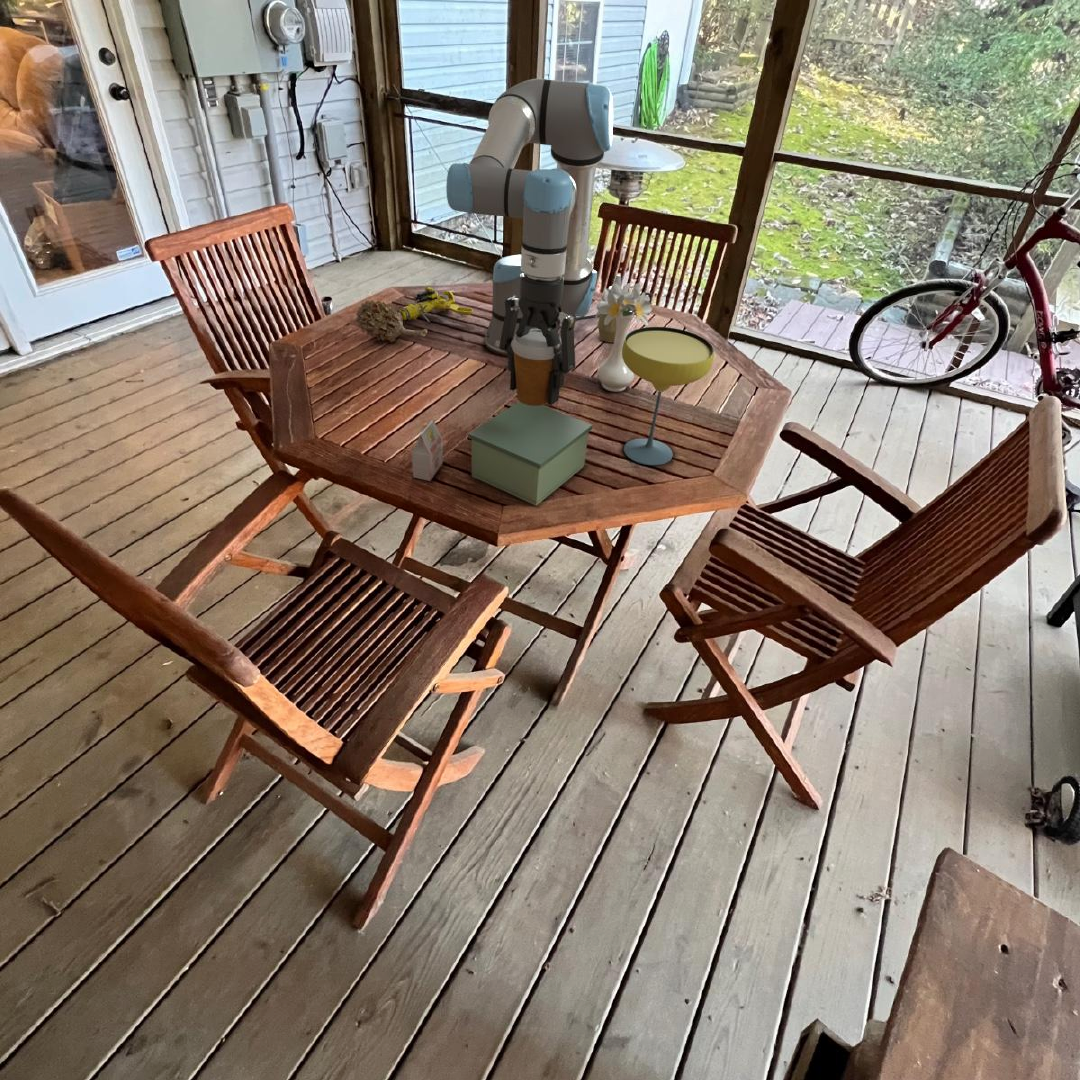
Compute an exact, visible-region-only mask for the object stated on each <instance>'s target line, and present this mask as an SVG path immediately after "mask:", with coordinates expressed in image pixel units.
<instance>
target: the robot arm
mask: <svg viewBox="0 0 1080 1080" xmlns="http://www.w3.org/2000/svg"><path fill="white" fill-rule="evenodd" d="M487 121H488V123H487V124H488V126H487V128H486V130H485V132H484V134H483V136H482V138H481V140H480V142H479V144H478V146H477V148H476V150H475V152H474V154H473V156H472V158H471V160H470V162H469V163H467V162H461V163H460V162H459V163H458V162H455V163H452V164H451V165H450V166H449V168H448V171H447V174H446V187H445V188H446V192H445V193H446V200H447V204H448V207H449V208H450V209H451V210H453V211H455V212H460V213H467V214H469V215H472V214H474V215H486V216H495V217H506V218H513V219H522V239H521V240H522V241H521V254H513V255H507V256H504V257H501V258H500V259H498V260H497V261H496V262H495V263H494V266H493V272H492V273H493V274H492V279H491V282H492V301H491V302H492V305H491V307H492V310H491V318H490V321H489V324H488V327H487V330H486V333H485V336H484V346H485V348H486V349H487V350H488V351H490V352H492V353H493V354H496V355H500V356H502V357H503V356H505V357H507V370H508V372H510V377H509V378H510V379H509V380H510V381H509V390H510V391H511V392H514V391H515V390H517V386H516V375H515V363H514V351H513V349H512V347H511V342H512V340H513V339H514V336H515V334H517V336H518V337H520V338H521V337H523V336H525V335H526V334H528V333H529V331H530V329H539V330H542V334H543V336H544V337H545V338H546V342H547V346H548V347H550V346H552V347H553V350H554V354H555V356H554V358H553V359H552V364H553V368H554V370H553V371H551V372H550V379H549V391H548V403H547V405H549V406H552V405H553V404H555V403H557V402H558V401H560V399H559V398H560V390H561V388H563V387H564V385H565V378H566V377H565V376H566V374H568V373H570V372H572V371H573V370H574V369H576V348H575V347H576V345H575V325H576V322H578V321H583V320H590V319H594V318H595V316H596V314H589V315H588V313H589V312H590V309H591V306H592V302H593V298H594V292H595V289H596V283H597V280H598V279H597V278H598V271H596V270H595V269H593V264H592V261H591V260H590V259H589V258H588V253H589V243H590V233H591V222H592V209H593V200H594V189H595V178H596V166H597V165H598V164H599V163H601V162H602V161H603V159H604V157H605V153H607V152H609V151H611V149H612V145H613V144H612V143H613V128H614V127H613V126H614V105H613V95H612V91H611V89H610V88H609V87H608V86H606V85H602V84H596V83H595V84H594V83H593V82H591V81H589V82H579V81H566V80H558V79H546V78H531V79H527V80H524V81H521V82H519V83H517V84H514V85H513V86H512V87H510V88H508V89H506V90H505V91H504V92H502V93H501V94H500V95H498V97H497V98H496V99H495V101H494V102H493V104H492V106H491V108H490V110H489V113H488V120H487ZM528 144H536V145H542V146H543V145H544V146H550V156H551V159H553V161H555V162H556V168H550V169H549V168H548V169H547V168H541V169H535V170H527V169H519V168H518V169H517V168H515V167H516V164H517V161H518V159H519V157H520V155H521V152H522V150H523V148H524V147H525V146H526V145H528ZM644 293H645V296H648V297H649V298H653V296H652V293H650V292H648V291H647V292H644ZM599 316H600V315H598V316H597V317H596V318H599ZM596 318H595V319H596ZM559 327H560V328H559ZM559 330H560V335H559ZM559 337H560V338H561V342H560V338H559ZM559 343H560V346H559V348H558V349H556V348H555V347H554V346H556V345H558V344H559ZM560 351H561V352H560ZM559 352H560V353H559ZM557 353H559V354H557Z"/></svg>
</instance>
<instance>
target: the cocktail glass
mask: <svg viewBox="0 0 1080 1080" xmlns="http://www.w3.org/2000/svg"><path fill="white" fill-rule="evenodd" d="M622 358H623V361H624V363H625V364H626V366H627V367H628V368H629V369H630V370H631V371H632V372H633V373H634V375H636V376H637V377H639V378H640V379H642V380H645V381H646V382H649V383H650V384H651V385H652V387H653V388H654V389H655V391H656V392H657V396H656V402H655V408H654V412H653V417H652V421H651V427H650V432H649V436H648V438H634V439H631V440H629V441H627V442H626V443H625V444H624V446H623V453H624V454H625V456H626V457H627V458H628V459H630V460H631V461H632V462H634V463H637V464H640V465H644V466H651V467H652V466H653V467H657V466H663V465H666V464H667V463H670V461H672V459H673V456H674V455H673V453H674V452H673V451H672V448H670V447H669V446H668V445H667V444H665V443H664V442H661V441H659V440H656V439H654V434H655V433H654V432H655V428H656V424H657V423H656V422H657V417H658V413H659V412H658V411H659V406H660V402H661V397H662V393H664V392H666V391H668V389H669V388H671V387H676V386H683V385H688V384H692V383H694V382H697V381H699V380H701V379H703V378H704V377H705V376H706V375H707V374H708V373H710V371H711V368H712V366H713V363H714V360H715V349H714V347H713V345H712V344H711V343H710V342H709V341H708V340H707V339H706V338H704V337H703V336H700V335H699V334H696V333H694V332H691V331H688V330H684V329H679V328H674V327H668V326H645V327H640V328H637V329H634V330H631V331H630V332H628V335H627V336H626V337H625V339H624V342H623V346H622Z"/></svg>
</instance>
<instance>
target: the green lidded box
mask: <svg viewBox="0 0 1080 1080" xmlns="http://www.w3.org/2000/svg"><path fill="white" fill-rule="evenodd" d="M593 426H594V425H593V424H592V423H589V422H586V421H583V420H581V419H579V418H576V417H574V416H571V415H568V414H567V413H563V412H560V411H558V410H556V409H552V408H551V407H548V406H545V405H541V406H530V405H526V404H523V403H521V402H520V401H519V400H518V402H516V403H515V404H513V405H511V406H510V407H508V408H507V409H505V410H504V411H501V412H499V414H496V415H495V416H494V417H492V418H490V419H489V420H487V421H486V422H484V423H483V424H481V425H479V426H478V427H476V428H475V429H473V430H472V431H469V432H468V433H467V438H468V439H470V440H471V477H472V478H475V479H477V480H479V481H482V482H484V483H486V484H488V485H490V486H492V487H494V488H497V489H498V490H501V491H503V492H505V493H508V494H510V495H512V496H514V497H516V498H518V499H520V500H523V501H525V502H527V503H529V504H531V505H534V506H536V507H537V506H538V505H539V504H540V503H542V502H543V501H544V500H545V499H546V498H548V497H549V496H550V495H551V494H552V493H554V492H555V491H556V490H557V489H558V488H560V487H562V486H563V484H565V483H566V482H567V481H569V479H570V478H572V477H573V476H575V474H577V473H578V472H579V471H581V469H583V468H584V467H585V463H586V454H587V447H588V440H589V439H588V438H589V432H591V431H592V430H593V428H594V427H593Z"/></svg>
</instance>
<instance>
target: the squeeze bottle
mask: <svg viewBox="0 0 1080 1080" xmlns="http://www.w3.org/2000/svg"><path fill="white" fill-rule="evenodd" d="M613 284H617V285H618V286H619V288H620V290H622V288H623V287H624V286H623V287H622V285H623V284H622V275H621V274H616V275H615V278H614V281H613ZM611 287H612V285H611V286H608V288H607V290H608V293H610V292H611V293H612V291H611ZM602 301H604V300H602ZM621 307H622V306H621ZM620 310H621V308H620ZM607 315H610V314H600V316H599V317H598V321H597V329H598V334H599V339H600V340H602V341H604V342H606V343H614V339H615V334H616V318H615V317H614V318H613V319H612V320H611V321H610V323H609V324H608V325H604V320H605V318H606V316H607Z"/></svg>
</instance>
